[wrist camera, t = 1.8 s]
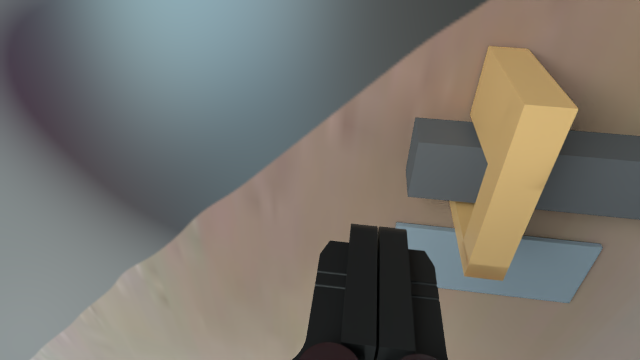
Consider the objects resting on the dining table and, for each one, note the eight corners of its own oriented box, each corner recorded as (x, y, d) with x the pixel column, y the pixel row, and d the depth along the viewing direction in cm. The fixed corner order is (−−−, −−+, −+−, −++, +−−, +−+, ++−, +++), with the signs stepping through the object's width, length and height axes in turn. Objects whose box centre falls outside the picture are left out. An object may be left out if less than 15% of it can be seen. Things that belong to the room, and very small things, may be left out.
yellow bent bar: (528, 48, 22) (578, 109, 16) (478, 198, 27) (502, 281, 22) (488, 46, 22) (524, 104, 16) (448, 195, 28) (464, 276, 22)
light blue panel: (600, 243, 29) (602, 247, 28) (567, 298, 32) (568, 303, 32) (396, 222, 30) (396, 225, 29) (386, 277, 33) (386, 281, 33)
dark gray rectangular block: (659, 135, 24) (692, 166, 21) (628, 187, 26) (655, 221, 24) (415, 115, 25) (418, 142, 23) (405, 166, 27) (407, 196, 25)
